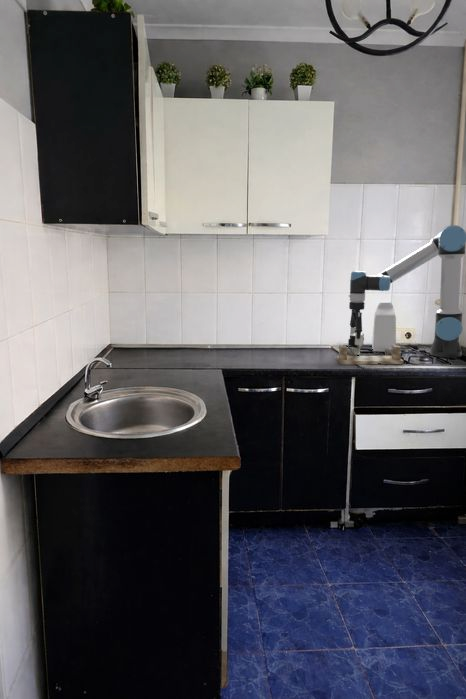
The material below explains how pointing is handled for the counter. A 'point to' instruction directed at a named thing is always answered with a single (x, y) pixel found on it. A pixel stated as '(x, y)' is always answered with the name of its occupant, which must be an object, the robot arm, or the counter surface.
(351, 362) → the pipe stand
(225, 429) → the counter surface
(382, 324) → the milk
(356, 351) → the pneumatic valve
